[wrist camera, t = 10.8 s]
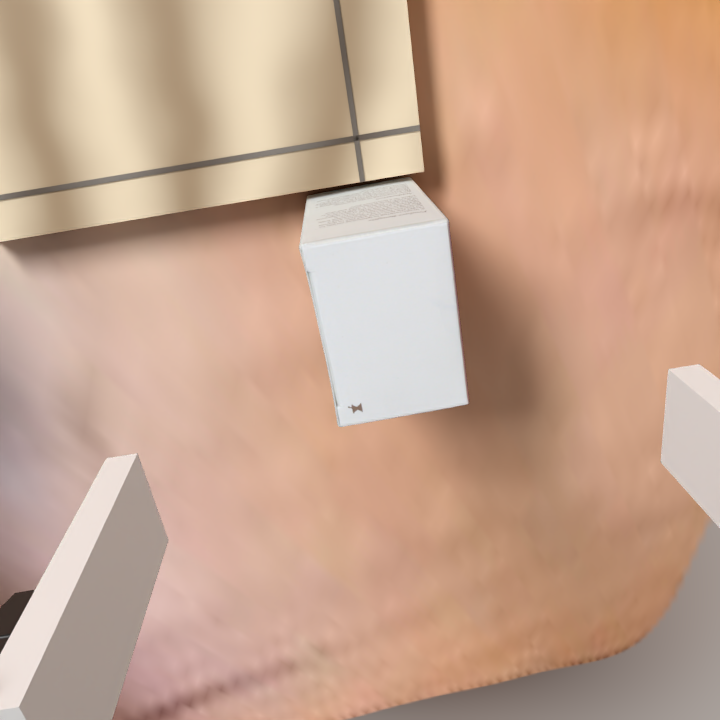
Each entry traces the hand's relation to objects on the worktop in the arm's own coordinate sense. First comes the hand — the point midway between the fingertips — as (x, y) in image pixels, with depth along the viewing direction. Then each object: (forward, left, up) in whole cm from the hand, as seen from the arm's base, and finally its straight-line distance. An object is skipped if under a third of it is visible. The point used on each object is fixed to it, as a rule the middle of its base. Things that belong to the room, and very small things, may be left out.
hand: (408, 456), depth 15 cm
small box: (0, 0, -20) cm, 20 cm away
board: (-7, +10, -19) cm, 23 cm away
